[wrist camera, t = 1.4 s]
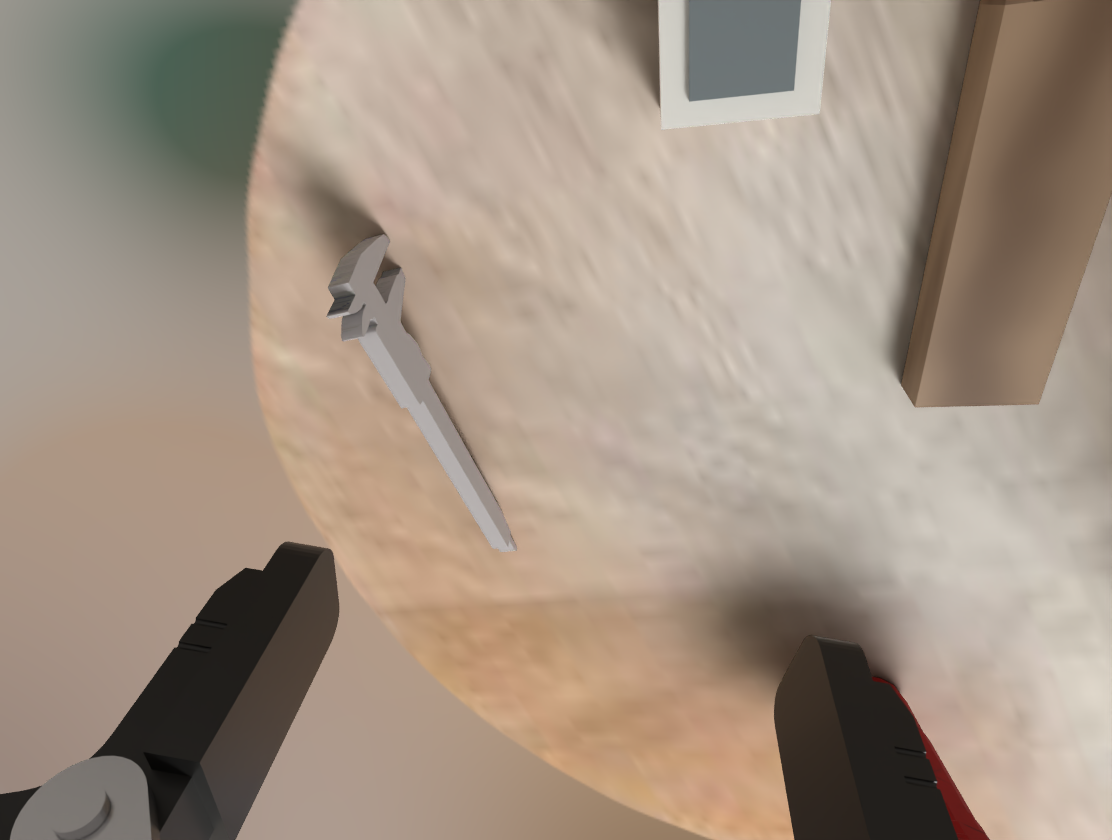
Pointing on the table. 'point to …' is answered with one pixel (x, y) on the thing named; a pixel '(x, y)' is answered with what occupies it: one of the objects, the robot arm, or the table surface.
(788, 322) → the table surface
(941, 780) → the plastic cup
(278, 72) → the table surface
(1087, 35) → the bar
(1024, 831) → the table surface
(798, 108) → the block
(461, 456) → the caliper
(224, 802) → the robot arm
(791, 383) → the table surface
